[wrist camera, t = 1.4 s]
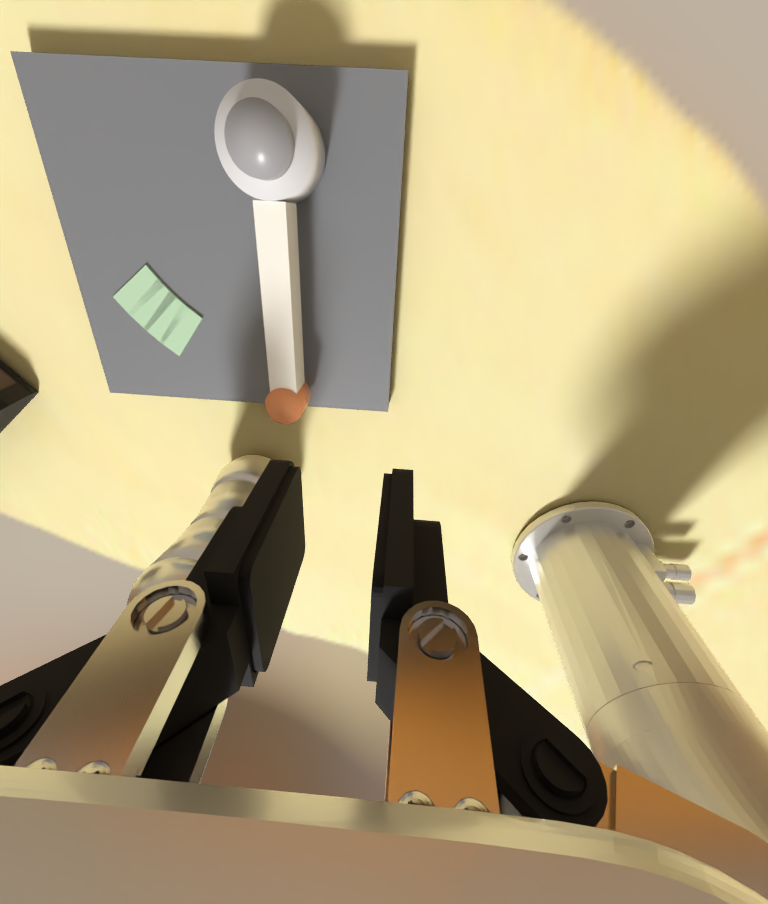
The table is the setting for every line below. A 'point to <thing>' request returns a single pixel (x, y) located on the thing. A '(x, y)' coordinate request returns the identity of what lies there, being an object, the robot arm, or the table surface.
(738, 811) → the robot arm
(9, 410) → the flat black box
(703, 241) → the table surface
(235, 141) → the white bar with knob
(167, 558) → the plastic bottle
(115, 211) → the dial board
